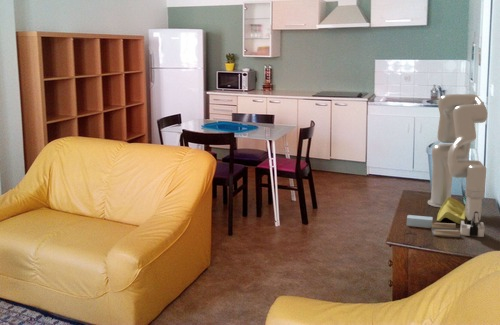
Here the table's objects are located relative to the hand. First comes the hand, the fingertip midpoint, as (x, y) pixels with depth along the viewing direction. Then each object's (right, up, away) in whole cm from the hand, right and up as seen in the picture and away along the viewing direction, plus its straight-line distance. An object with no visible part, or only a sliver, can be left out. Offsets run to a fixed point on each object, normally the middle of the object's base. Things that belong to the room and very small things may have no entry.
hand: (471, 232), depth 224 cm
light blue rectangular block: (-19, +1, +12) cm, 23 cm away
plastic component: (0, +4, +21) cm, 22 cm away
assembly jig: (-11, 0, +2) cm, 11 cm away
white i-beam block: (0, -1, 0) cm, 1 cm away
